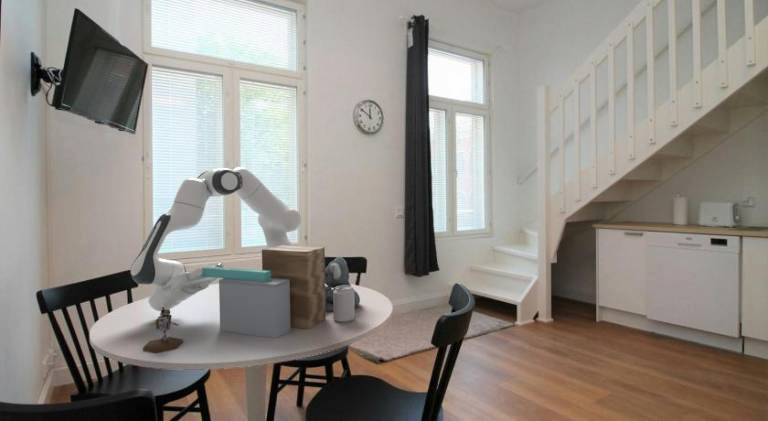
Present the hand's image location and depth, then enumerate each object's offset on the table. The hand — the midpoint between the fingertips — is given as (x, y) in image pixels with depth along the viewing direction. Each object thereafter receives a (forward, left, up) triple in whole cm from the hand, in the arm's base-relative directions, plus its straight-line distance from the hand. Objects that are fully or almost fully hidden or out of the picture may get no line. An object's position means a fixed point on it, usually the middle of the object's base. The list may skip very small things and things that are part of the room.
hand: (211, 267), depth 143 cm
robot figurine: (+21, +1, -20) cm, 29 cm away
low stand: (0, +18, -20) cm, 27 cm away
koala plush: (-35, +31, -20) cm, 51 cm away
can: (-20, +41, -20) cm, 50 cm away
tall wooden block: (-13, +25, -20) cm, 34 cm away
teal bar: (0, +10, -3) cm, 11 cm away
